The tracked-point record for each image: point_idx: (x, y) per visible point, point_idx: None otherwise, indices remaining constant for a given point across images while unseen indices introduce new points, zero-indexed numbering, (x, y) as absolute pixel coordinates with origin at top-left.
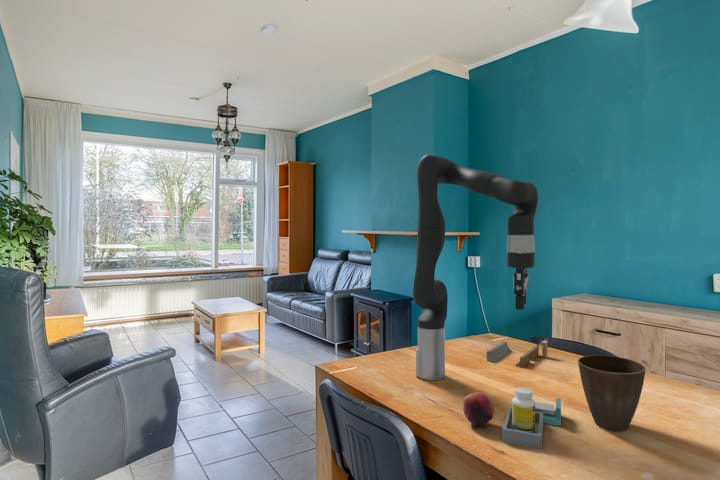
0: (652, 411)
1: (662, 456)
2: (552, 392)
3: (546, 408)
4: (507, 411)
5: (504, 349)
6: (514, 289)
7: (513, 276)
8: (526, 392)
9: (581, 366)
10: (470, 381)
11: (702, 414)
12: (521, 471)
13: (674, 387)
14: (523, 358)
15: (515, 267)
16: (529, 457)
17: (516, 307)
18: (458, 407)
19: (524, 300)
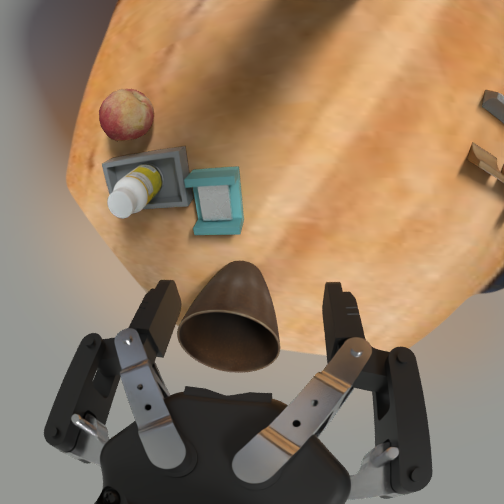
0: (312, 317)
1: (186, 306)
2: (349, 206)
3: (207, 209)
4: (160, 153)
5: None
6: (74, 356)
7: (144, 444)
8: (113, 210)
9: (199, 310)
10: (351, 45)
11: (320, 349)
12: (73, 193)
13: (399, 339)
14: (478, 166)
15: (96, 501)
16: (99, 195)
17: (159, 286)
18: (188, 56)
19: (324, 320)
